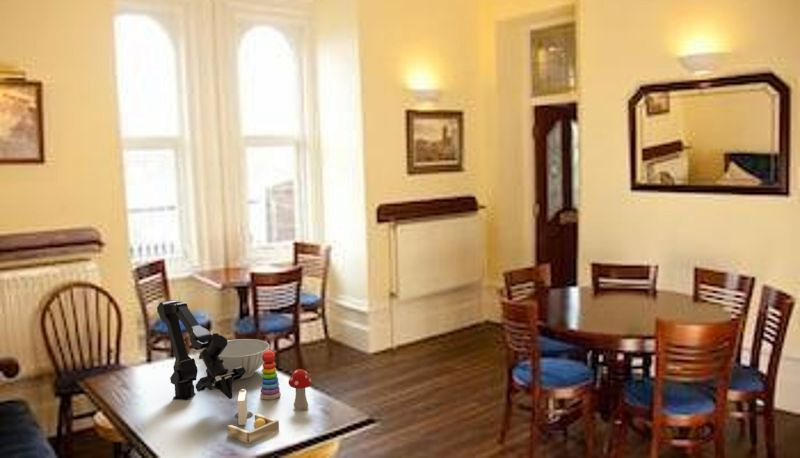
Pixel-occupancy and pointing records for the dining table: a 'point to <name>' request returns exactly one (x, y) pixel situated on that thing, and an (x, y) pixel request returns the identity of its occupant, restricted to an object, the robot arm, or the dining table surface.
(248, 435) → the tray
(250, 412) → the pivot plate
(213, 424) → the dining table surface
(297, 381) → the decorative mushroom
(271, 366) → the stacking toy
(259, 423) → the ball
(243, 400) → the lever
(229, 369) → the decorative bowl
